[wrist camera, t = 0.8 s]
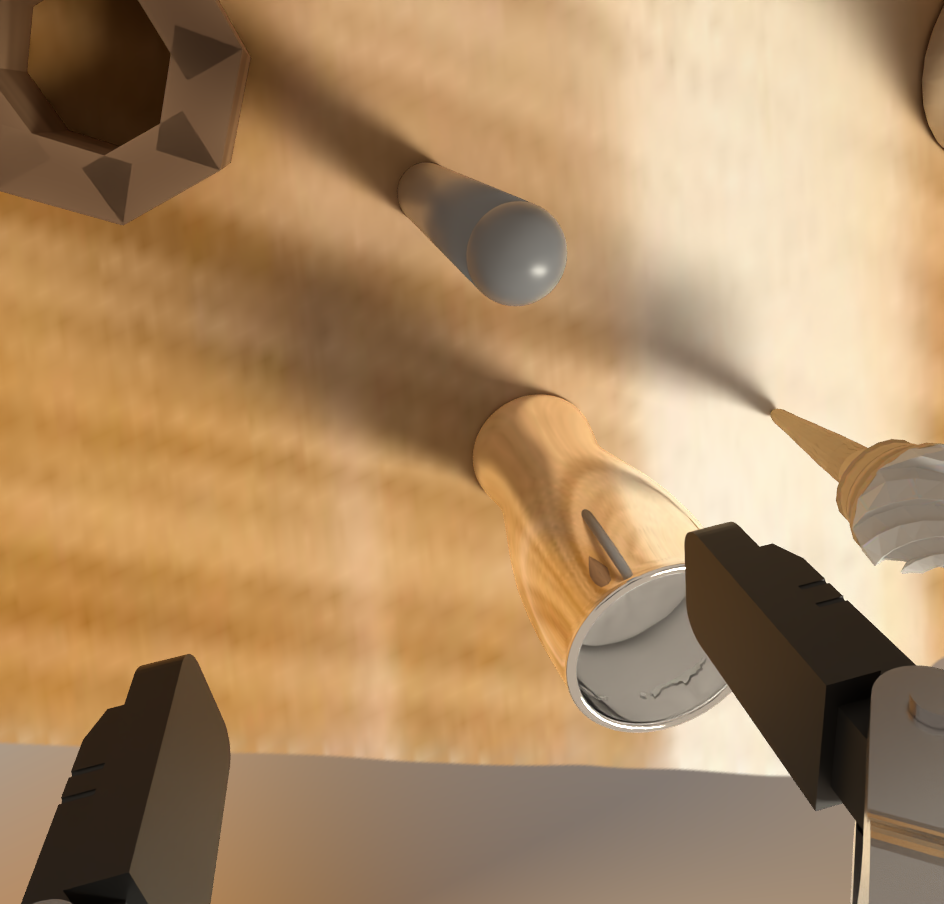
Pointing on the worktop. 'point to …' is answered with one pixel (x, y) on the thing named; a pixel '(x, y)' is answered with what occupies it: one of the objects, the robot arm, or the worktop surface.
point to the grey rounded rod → (486, 233)
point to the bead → (148, 155)
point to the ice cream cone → (882, 492)
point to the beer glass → (597, 566)
